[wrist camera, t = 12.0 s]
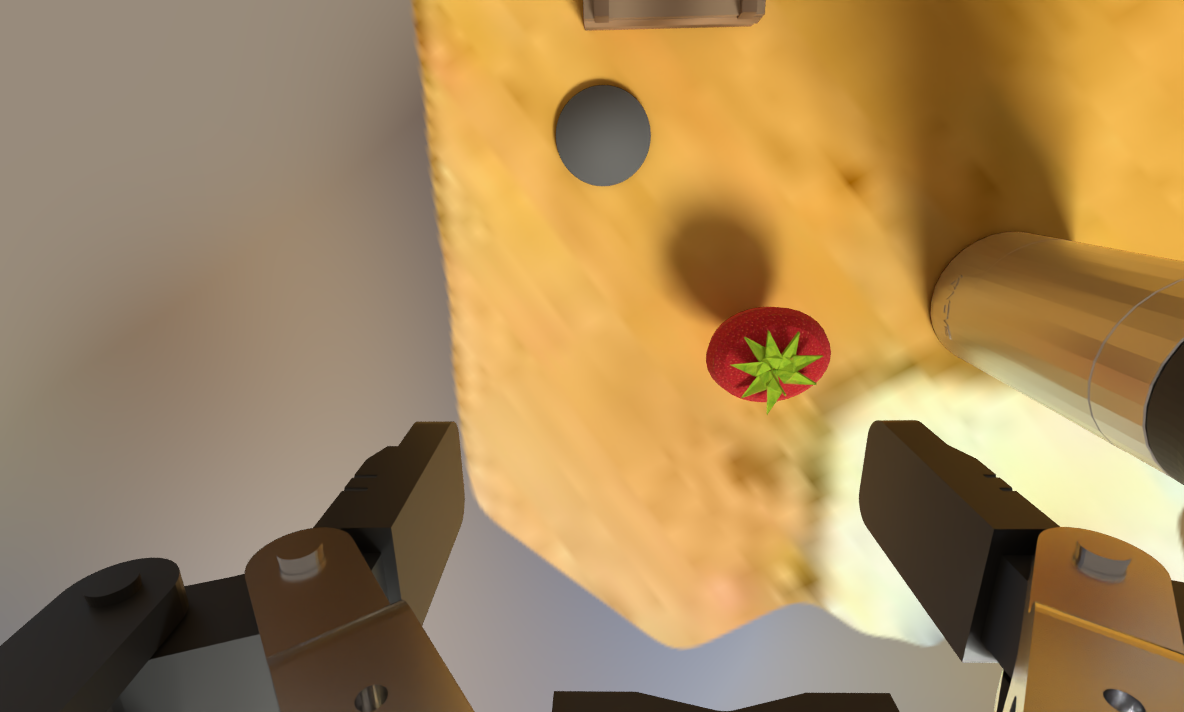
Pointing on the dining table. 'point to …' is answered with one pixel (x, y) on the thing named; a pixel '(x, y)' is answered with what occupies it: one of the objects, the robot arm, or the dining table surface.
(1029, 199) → the dining table surface
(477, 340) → the dining table surface
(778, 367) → the strawberry
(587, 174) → the coaster
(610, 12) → the walnut ramp
